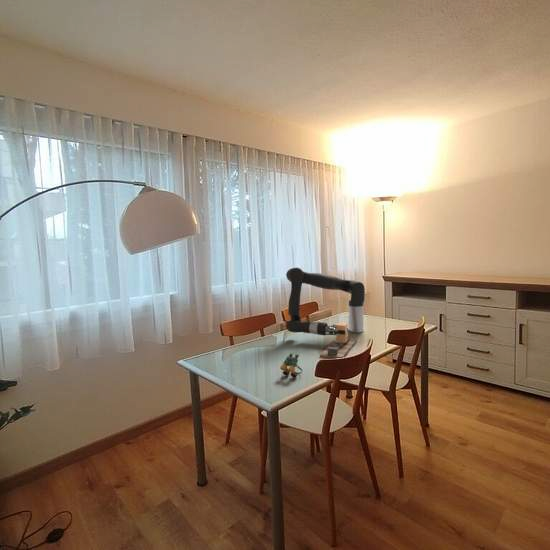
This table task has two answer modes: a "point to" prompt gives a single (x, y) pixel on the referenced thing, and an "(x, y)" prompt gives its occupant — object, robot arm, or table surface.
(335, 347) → the track
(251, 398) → the table surface
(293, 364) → the green yellow plastic figure
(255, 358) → the table surface
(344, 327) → the tan wooden tall block
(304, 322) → the robot arm
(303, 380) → the table surface
